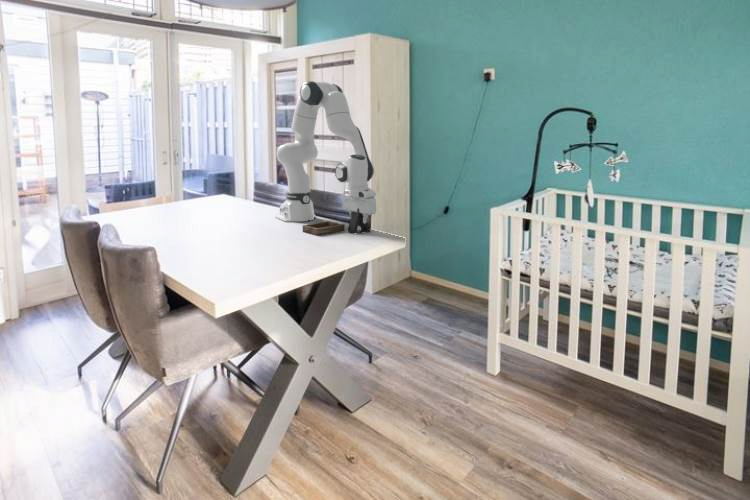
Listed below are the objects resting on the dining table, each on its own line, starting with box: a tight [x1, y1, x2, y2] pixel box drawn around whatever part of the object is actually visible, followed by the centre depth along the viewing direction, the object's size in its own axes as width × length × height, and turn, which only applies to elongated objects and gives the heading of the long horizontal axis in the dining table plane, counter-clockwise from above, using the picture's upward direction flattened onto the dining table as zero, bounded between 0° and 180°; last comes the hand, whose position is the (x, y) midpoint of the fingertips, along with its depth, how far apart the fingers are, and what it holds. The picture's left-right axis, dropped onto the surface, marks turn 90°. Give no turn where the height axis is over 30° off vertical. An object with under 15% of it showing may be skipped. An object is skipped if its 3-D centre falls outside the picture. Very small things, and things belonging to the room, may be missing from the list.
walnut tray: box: [302, 220, 346, 237], centre depth 241 cm, size 12×15×3 cm
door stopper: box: [347, 208, 371, 235], centre depth 239 cm, size 9×6×12 cm, turn 118°
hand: (358, 221), depth 239 cm, fingers closed on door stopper, 6 cm apart
